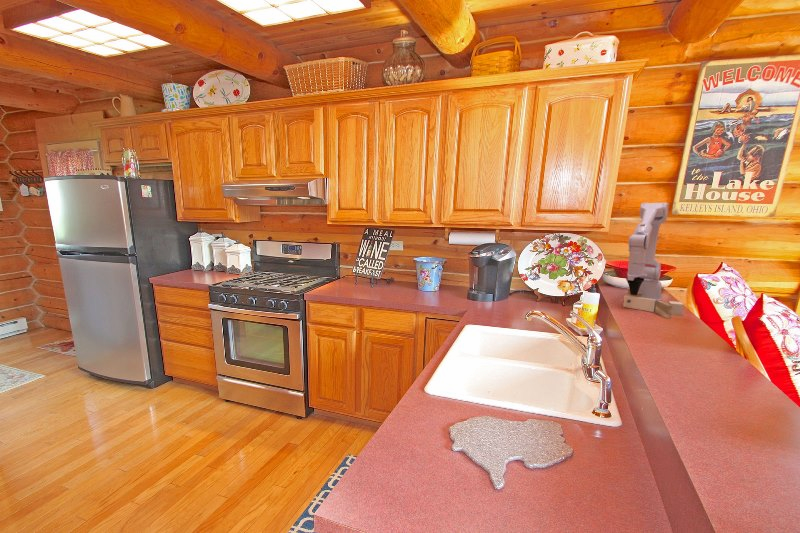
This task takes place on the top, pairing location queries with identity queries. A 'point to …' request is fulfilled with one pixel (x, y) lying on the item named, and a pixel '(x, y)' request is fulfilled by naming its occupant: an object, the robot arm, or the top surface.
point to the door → (639, 303)
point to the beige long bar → (658, 306)
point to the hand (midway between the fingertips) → (633, 294)
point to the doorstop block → (676, 308)
